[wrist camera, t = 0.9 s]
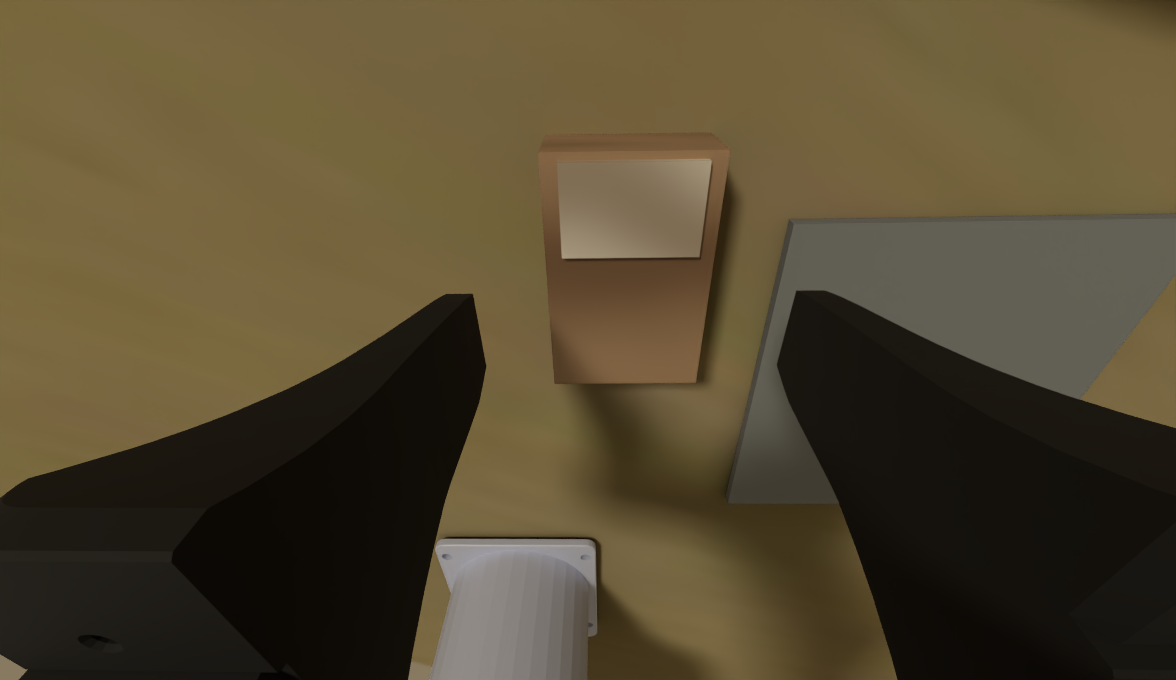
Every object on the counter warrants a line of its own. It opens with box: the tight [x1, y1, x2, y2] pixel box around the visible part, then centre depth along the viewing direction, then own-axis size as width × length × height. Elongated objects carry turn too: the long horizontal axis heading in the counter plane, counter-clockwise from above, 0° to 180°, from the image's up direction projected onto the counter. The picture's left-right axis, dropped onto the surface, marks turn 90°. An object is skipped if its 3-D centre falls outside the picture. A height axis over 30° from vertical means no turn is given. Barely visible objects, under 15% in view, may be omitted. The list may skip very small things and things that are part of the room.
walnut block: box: [538, 133, 730, 384], centre depth 14 cm, size 7×4×3 cm, turn 1°
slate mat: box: [726, 214, 1176, 504], centre depth 17 cm, size 13×12×1 cm
